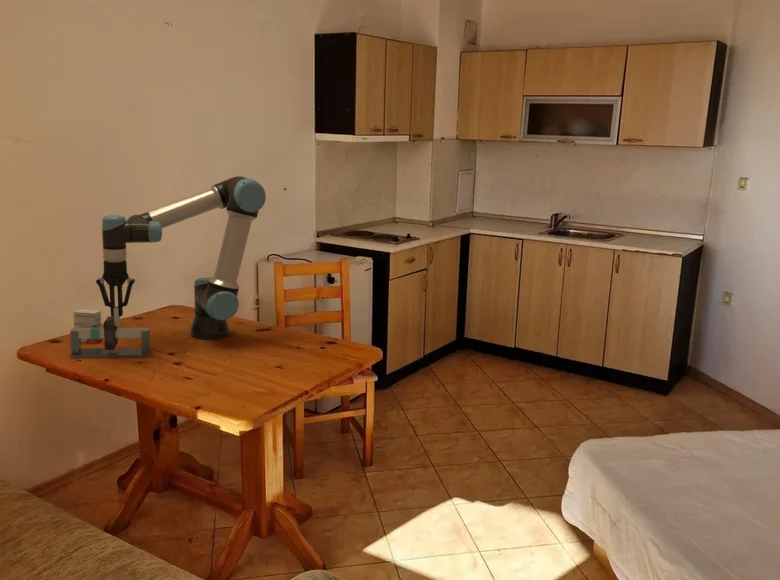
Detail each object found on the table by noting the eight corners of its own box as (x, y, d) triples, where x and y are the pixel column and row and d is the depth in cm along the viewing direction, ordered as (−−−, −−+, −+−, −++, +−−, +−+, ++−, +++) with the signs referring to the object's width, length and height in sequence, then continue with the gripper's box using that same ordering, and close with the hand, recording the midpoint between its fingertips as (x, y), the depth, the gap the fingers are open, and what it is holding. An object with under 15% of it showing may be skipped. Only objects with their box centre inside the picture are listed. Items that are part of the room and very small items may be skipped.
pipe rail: (151, 350, 252) (150, 325, 250) (148, 357, 244) (147, 331, 242) (75, 351, 247) (74, 325, 244) (70, 358, 239) (68, 331, 237)
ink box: (103, 339, 260) (101, 310, 258) (96, 343, 256) (95, 313, 253) (81, 338, 261) (79, 308, 258) (74, 341, 256) (72, 311, 254)
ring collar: (117, 342, 249) (116, 316, 247) (113, 349, 241) (112, 322, 239) (109, 342, 248) (108, 316, 246) (104, 349, 241) (103, 322, 238)
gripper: (136, 258, 243) (138, 322, 248) (97, 257, 240) (99, 321, 246) (133, 262, 236) (134, 327, 241) (92, 261, 233) (95, 328, 238)
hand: (117, 324), depth 243 cm, fingers closed
